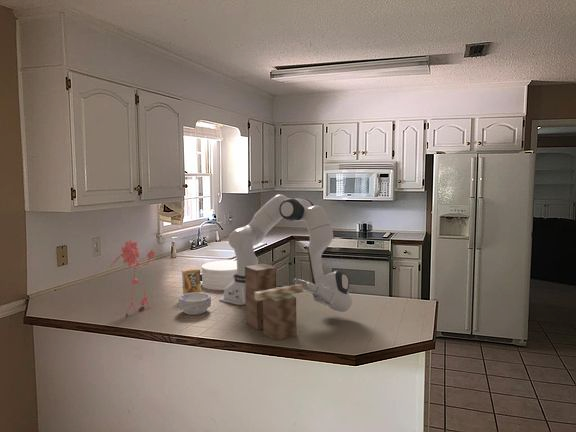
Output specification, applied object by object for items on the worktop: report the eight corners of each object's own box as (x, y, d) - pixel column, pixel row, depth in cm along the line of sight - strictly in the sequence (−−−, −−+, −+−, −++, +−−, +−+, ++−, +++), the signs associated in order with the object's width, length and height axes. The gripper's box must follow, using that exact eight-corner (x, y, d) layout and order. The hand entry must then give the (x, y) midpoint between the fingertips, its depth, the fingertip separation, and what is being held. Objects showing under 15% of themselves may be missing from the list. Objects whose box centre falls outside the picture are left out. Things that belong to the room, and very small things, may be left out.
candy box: (198, 295, 257) (197, 268, 255) (201, 297, 253) (200, 269, 252) (182, 298, 253) (181, 270, 251) (185, 300, 249) (184, 271, 247)
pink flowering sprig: (162, 303, 243) (157, 236, 239) (126, 319, 219) (121, 245, 216) (138, 301, 249) (133, 235, 245) (101, 316, 226) (95, 244, 222)
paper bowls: (215, 313, 226) (215, 297, 225) (184, 319, 219) (184, 302, 218) (205, 305, 239) (204, 290, 239) (175, 310, 232) (174, 294, 231)
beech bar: (299, 290, 203) (299, 283, 203) (303, 292, 201) (303, 285, 201) (254, 299, 191) (254, 291, 191) (258, 300, 189) (258, 293, 189)
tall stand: (265, 319, 217) (264, 263, 214) (277, 325, 209) (276, 267, 206) (246, 323, 212) (244, 266, 209) (257, 329, 203) (256, 270, 200)
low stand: (283, 328, 205) (282, 291, 203) (296, 335, 197) (296, 296, 195) (263, 333, 199) (262, 294, 197) (276, 340, 191) (275, 300, 189)
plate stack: (195, 289, 270) (195, 270, 269) (210, 277, 298) (209, 259, 297) (243, 290, 267) (243, 270, 265) (253, 278, 294) (253, 260, 293)
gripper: (311, 282, 218) (289, 271, 211) (340, 291, 201) (317, 280, 194) (306, 294, 217) (284, 284, 210) (334, 305, 200) (311, 294, 193)
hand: (300, 282), depth 201 cm, fingers open, 8 cm apart
